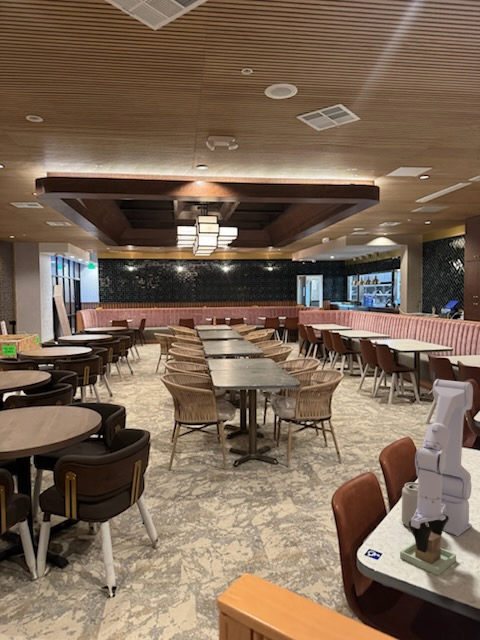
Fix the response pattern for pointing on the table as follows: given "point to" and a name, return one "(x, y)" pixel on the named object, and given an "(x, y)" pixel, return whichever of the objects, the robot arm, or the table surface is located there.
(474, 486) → the table surface
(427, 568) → the tray
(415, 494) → the can
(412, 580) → the table surface
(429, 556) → the block
